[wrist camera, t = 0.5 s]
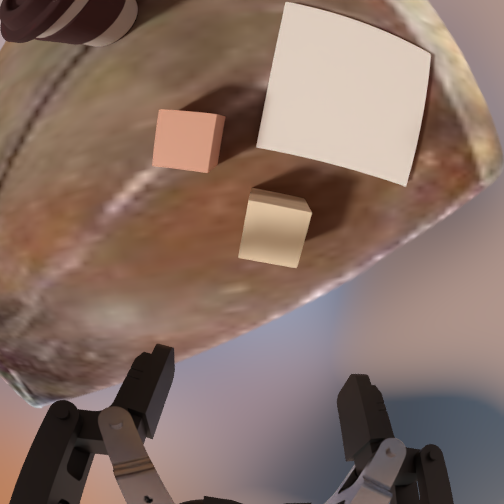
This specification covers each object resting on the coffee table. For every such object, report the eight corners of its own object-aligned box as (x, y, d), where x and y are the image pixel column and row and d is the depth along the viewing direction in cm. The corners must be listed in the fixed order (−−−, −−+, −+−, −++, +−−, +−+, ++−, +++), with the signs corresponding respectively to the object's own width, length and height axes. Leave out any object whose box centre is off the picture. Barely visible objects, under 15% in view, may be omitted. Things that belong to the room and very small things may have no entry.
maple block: (251, 187, 27) (248, 200, 23) (304, 197, 27) (312, 212, 23) (242, 236, 30) (238, 257, 25) (292, 245, 30) (296, 268, 25)
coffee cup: (168, 5, 18) (99, -59, 5) (107, 71, 21) (7, 57, 8) (118, -21, 15) (48, -66, 2) (66, 39, 19) (-22, 24, 5)
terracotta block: (177, 111, 24) (159, 109, 19) (225, 116, 24) (216, 114, 20) (170, 158, 26) (152, 165, 22) (217, 164, 26) (207, 172, 22)
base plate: (284, 6, 18) (285, 1, 17) (425, 55, 19) (430, 54, 18) (256, 146, 25) (256, 147, 24) (401, 184, 26) (405, 186, 25)
